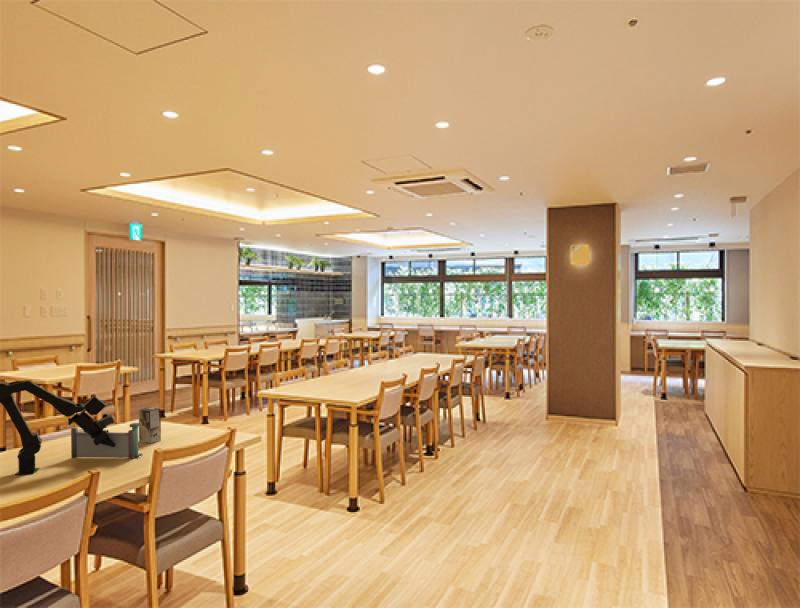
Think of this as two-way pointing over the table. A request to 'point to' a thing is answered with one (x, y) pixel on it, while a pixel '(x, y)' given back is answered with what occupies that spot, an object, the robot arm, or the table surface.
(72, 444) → the gate
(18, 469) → the robot arm
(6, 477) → the table surface
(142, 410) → the coffee box
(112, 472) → the table surface
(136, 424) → the post
